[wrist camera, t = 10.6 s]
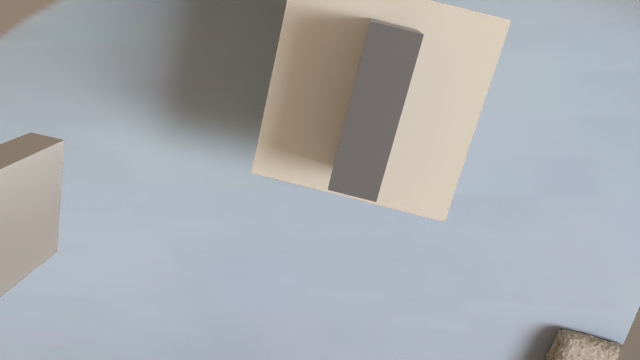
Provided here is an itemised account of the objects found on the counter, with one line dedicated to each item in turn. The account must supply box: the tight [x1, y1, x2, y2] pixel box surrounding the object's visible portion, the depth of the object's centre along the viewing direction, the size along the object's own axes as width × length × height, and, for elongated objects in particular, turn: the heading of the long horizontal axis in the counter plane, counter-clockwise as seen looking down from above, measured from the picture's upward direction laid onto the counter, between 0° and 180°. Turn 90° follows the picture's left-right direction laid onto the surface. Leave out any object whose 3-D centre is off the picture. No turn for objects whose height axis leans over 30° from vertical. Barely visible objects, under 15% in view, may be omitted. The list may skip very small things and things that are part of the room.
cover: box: [251, 0, 511, 222], centre depth 29 cm, size 11×11×5 cm
